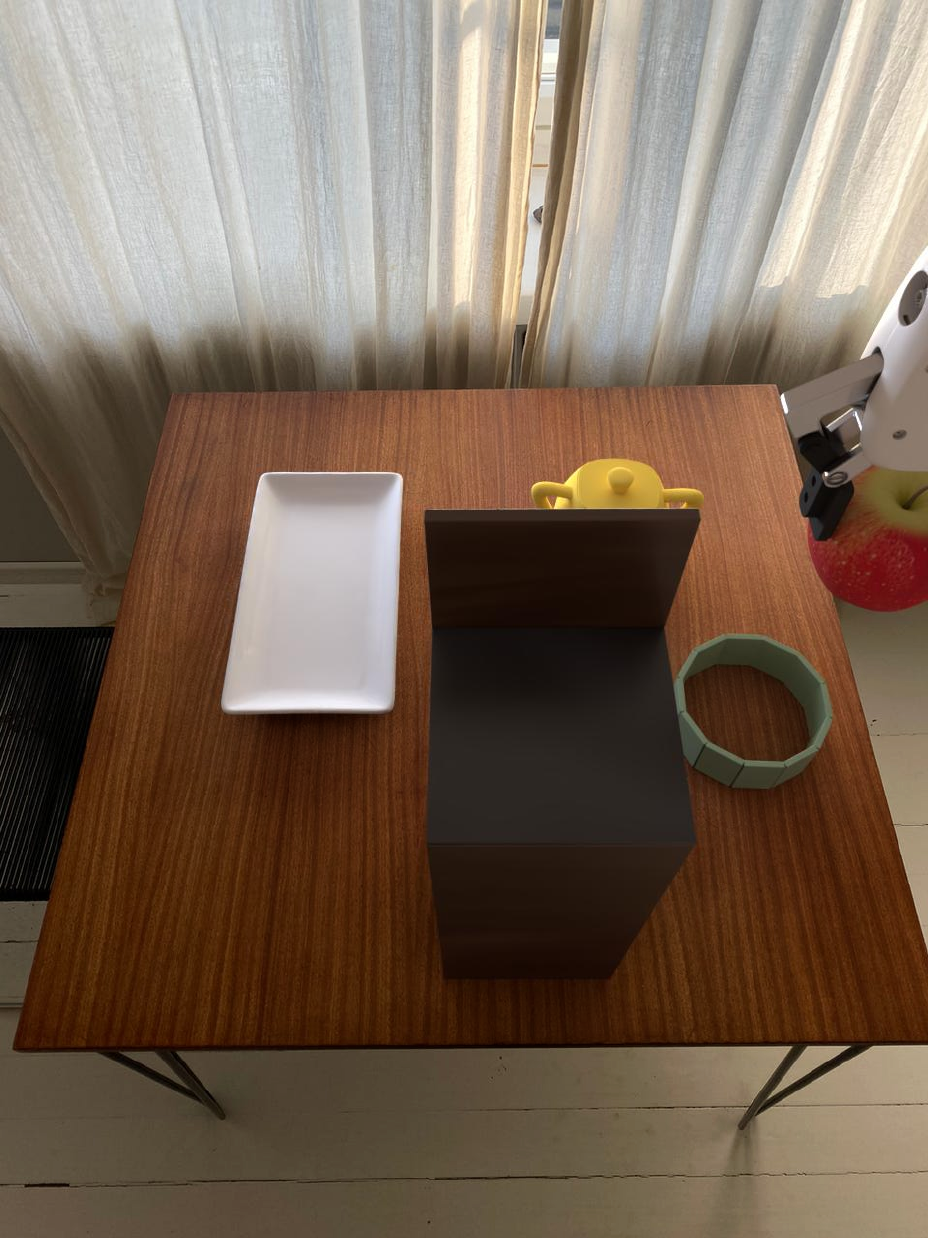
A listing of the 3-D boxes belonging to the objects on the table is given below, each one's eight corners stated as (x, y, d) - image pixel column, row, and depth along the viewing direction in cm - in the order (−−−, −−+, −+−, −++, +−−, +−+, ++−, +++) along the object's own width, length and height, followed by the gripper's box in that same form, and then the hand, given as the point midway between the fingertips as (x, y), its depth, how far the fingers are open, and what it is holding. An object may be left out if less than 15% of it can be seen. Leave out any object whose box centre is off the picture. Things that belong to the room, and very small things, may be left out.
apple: (812, 646, 48) (882, 527, 40) (771, 528, 53) (826, 401, 45) (958, 637, 48) (1058, 517, 40) (904, 520, 53) (983, 392, 45)
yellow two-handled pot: (515, 549, 99) (520, 477, 89) (601, 484, 104) (614, 409, 94) (607, 624, 93) (623, 556, 83) (693, 551, 98) (717, 479, 88)
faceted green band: (844, 749, 85) (863, 726, 81) (725, 813, 81) (739, 793, 77) (753, 639, 92) (767, 613, 88) (640, 694, 88) (648, 669, 84)
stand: (610, 979, 73) (748, 761, 37) (443, 979, 73) (415, 762, 37) (596, 819, 81) (699, 507, 44) (446, 819, 81) (424, 508, 44)
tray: (406, 489, 104) (404, 468, 101) (396, 727, 86) (393, 711, 83) (264, 490, 104) (258, 470, 101) (226, 729, 86) (217, 713, 84)
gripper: (876, 267, 30) (745, 577, 44) (1394, 265, 29) (1092, 578, 44) (826, 152, 34) (722, 469, 48) (1279, 150, 34) (1038, 469, 48)
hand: (898, 519), depth 46 cm, fingers closed on apple, 8 cm apart
